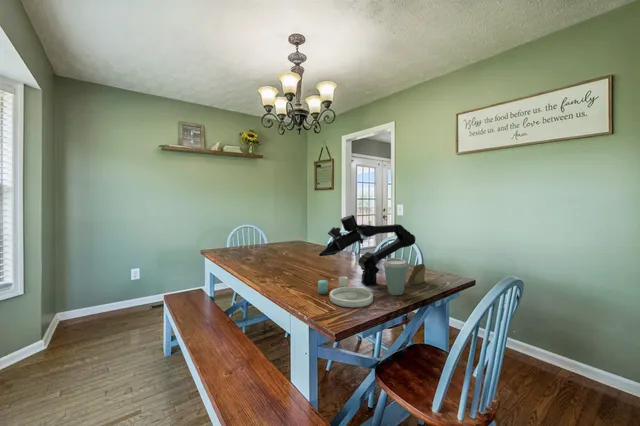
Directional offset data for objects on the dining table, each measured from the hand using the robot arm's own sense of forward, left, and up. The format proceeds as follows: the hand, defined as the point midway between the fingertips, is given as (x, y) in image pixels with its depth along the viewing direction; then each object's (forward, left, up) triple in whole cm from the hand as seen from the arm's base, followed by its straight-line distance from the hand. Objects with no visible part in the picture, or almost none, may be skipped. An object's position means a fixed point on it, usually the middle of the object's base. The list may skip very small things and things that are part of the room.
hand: (321, 254), depth 134 cm
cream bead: (-11, +1, -17) cm, 20 cm away
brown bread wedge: (-49, +3, -17) cm, 52 cm away
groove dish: (-9, +16, -17) cm, 25 cm away
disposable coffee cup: (-31, +14, -17) cm, 38 cm away
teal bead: (0, +4, -17) cm, 17 cm away
